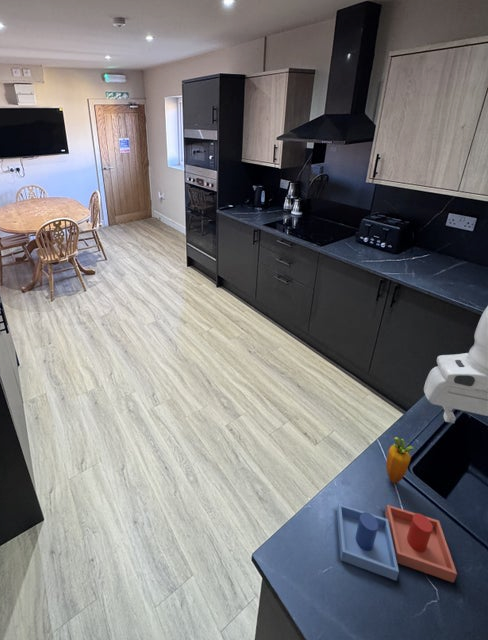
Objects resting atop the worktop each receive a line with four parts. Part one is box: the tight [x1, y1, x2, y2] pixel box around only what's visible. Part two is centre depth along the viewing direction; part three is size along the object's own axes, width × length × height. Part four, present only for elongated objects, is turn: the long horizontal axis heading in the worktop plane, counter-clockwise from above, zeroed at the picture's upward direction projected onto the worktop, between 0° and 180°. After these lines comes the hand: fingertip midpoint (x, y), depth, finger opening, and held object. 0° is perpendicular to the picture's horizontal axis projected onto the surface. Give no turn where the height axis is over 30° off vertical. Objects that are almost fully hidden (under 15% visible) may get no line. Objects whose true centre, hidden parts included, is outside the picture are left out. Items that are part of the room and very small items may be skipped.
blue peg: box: [355, 511, 378, 551], centre depth 73 cm, size 4×4×7 cm
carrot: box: [385, 436, 414, 484], centre depth 84 cm, size 5×5×15 cm
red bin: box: [384, 504, 458, 583], centre depth 73 cm, size 11×10×3 cm
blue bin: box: [336, 503, 400, 582], centre depth 73 cm, size 11×10×3 cm
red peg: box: [407, 512, 433, 552], centre depth 72 cm, size 4×4×7 cm
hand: (474, 426), depth 69 cm, fingers open, 8 cm apart
